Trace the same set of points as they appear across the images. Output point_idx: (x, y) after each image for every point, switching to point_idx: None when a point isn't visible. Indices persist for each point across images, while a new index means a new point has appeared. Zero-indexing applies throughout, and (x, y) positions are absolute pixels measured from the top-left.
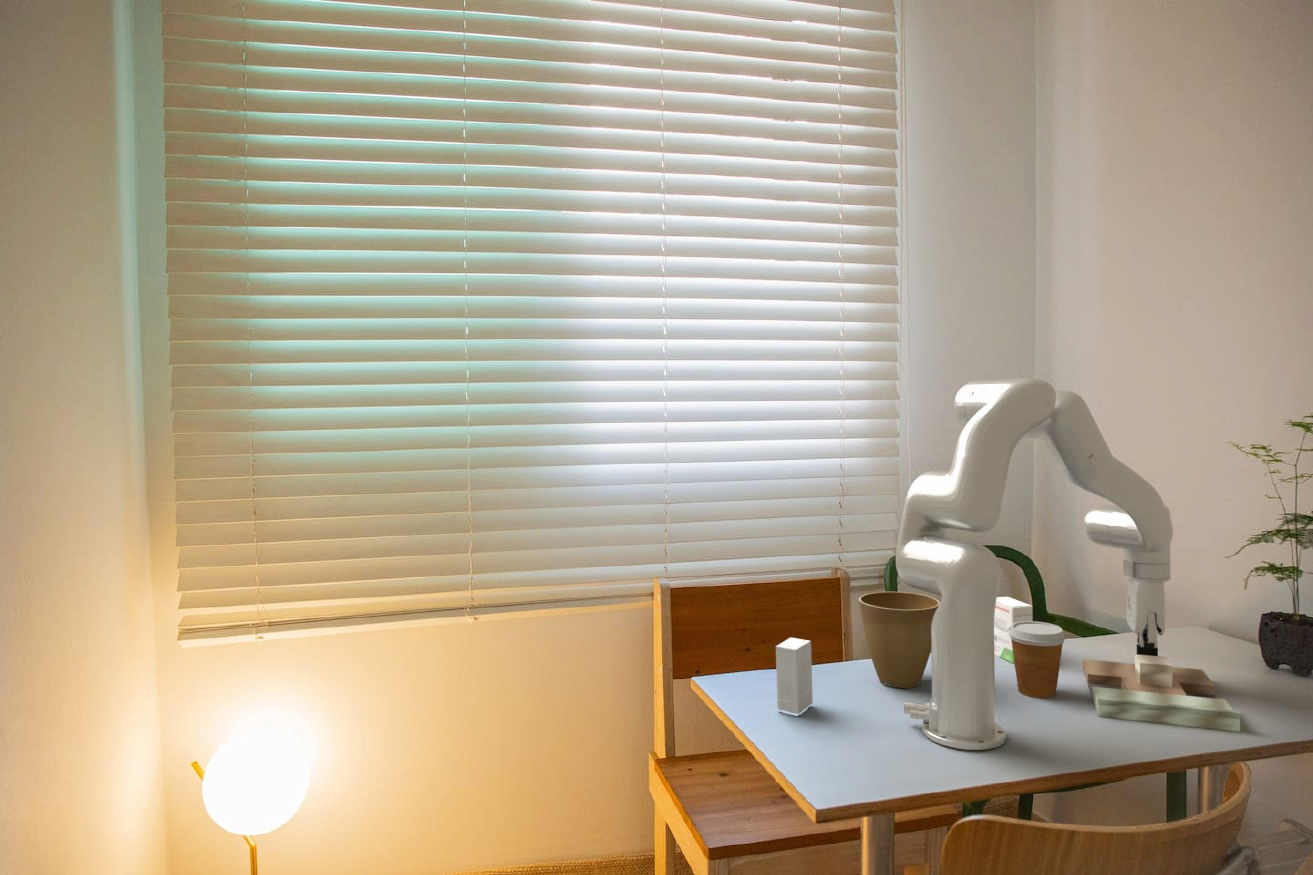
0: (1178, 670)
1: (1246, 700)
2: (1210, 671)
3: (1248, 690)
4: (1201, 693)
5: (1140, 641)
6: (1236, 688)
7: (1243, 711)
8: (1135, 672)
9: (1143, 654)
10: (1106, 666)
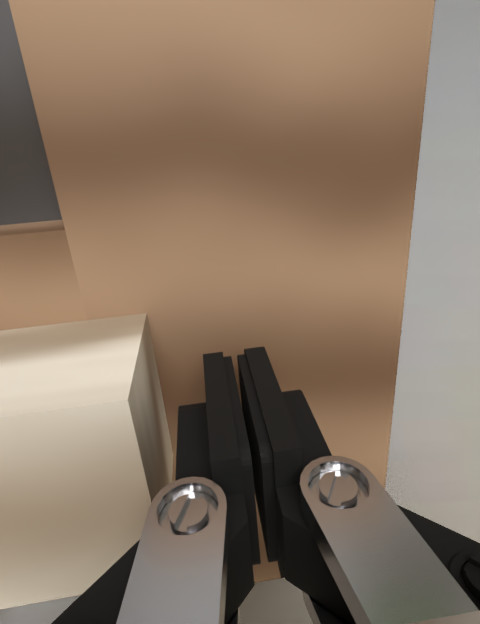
0: None
1: None
2: (468, 535)
3: (283, 616)
4: None
5: (142, 556)
6: (293, 594)
7: (31, 616)
8: (126, 326)
9: (186, 450)
10: (289, 133)
